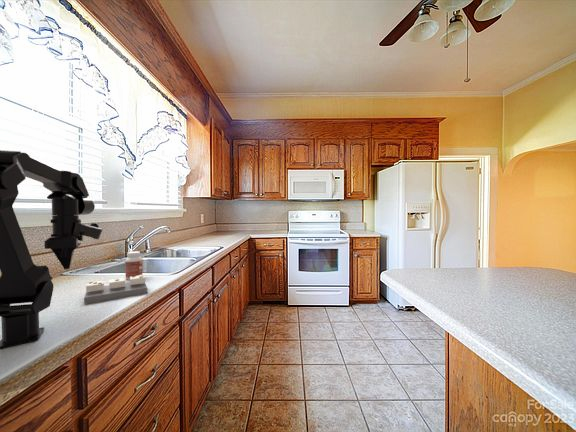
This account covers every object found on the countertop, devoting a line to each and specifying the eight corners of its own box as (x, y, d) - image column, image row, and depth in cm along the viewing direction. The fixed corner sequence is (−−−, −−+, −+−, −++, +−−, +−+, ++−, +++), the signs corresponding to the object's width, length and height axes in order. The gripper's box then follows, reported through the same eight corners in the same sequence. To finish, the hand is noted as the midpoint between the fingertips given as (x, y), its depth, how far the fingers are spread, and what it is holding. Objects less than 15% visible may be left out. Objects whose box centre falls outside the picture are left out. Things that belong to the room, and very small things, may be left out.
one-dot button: (125, 286, 85) (125, 280, 85) (109, 288, 82) (109, 282, 82) (124, 283, 88) (124, 277, 88) (109, 285, 86) (109, 279, 86)
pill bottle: (142, 278, 104) (142, 252, 104) (125, 280, 101) (125, 254, 101) (142, 275, 109) (141, 250, 109) (125, 277, 106) (125, 251, 106)
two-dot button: (145, 282, 88) (145, 276, 88) (130, 285, 86) (130, 278, 86) (144, 280, 92) (143, 274, 92) (130, 282, 89) (129, 276, 89)
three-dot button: (103, 289, 81) (103, 283, 81) (86, 292, 79) (86, 285, 79) (104, 286, 85) (103, 280, 85) (87, 288, 82) (87, 282, 82)
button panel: (147, 293, 86) (147, 287, 86) (84, 304, 76) (84, 297, 76) (144, 285, 95) (144, 280, 95) (87, 294, 85) (87, 288, 85)
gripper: (98, 215, 68) (100, 271, 69) (101, 214, 83) (102, 260, 84) (43, 216, 62) (45, 277, 62) (57, 215, 77) (58, 264, 77)
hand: (67, 268), depth 72 cm, fingers closed
